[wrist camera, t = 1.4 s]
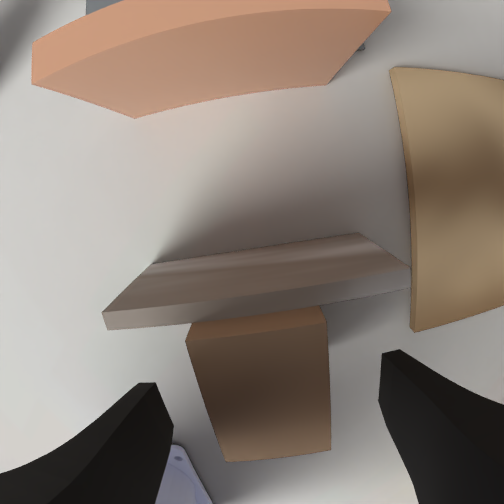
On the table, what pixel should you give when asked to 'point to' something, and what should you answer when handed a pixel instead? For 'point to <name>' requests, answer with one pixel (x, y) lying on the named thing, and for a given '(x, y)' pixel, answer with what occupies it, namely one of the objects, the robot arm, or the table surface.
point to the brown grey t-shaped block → (261, 333)
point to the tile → (200, 50)
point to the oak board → (453, 191)
